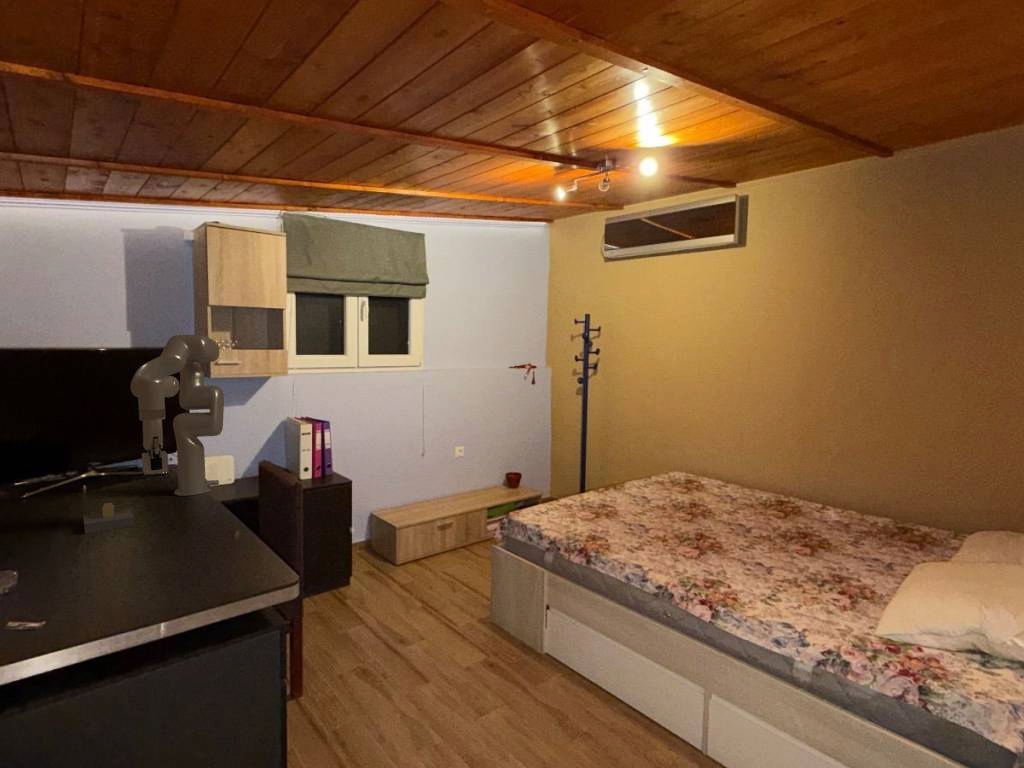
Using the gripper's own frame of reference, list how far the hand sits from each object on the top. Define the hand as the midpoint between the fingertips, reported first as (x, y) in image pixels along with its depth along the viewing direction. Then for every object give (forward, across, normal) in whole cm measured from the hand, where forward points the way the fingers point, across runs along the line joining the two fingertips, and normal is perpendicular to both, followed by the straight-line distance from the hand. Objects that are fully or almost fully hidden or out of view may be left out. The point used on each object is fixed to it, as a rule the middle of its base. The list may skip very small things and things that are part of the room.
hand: (155, 467), depth 203 cm
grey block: (+17, +1, -14) cm, 22 cm away
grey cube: (+1, 0, 0) cm, 1 cm away
